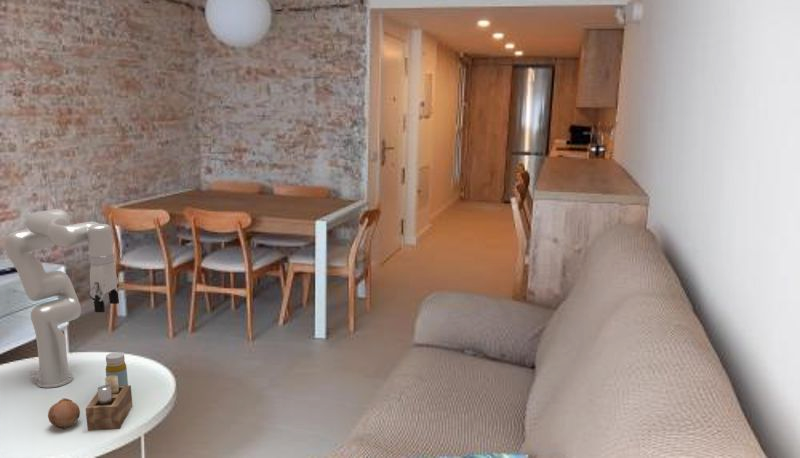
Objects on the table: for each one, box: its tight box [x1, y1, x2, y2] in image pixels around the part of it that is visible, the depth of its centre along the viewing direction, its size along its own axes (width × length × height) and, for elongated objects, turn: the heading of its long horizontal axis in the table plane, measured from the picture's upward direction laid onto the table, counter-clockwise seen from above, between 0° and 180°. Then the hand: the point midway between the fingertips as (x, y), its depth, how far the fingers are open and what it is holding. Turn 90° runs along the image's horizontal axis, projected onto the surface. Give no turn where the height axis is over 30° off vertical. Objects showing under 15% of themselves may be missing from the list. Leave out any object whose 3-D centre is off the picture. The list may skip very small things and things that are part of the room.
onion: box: [47, 397, 81, 430], centre depth 215 cm, size 10×9×10 cm
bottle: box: [105, 351, 129, 386], centre depth 238 cm, size 7×7×15 cm
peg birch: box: [104, 375, 119, 395], centre depth 223 cm, size 4×4×8 cm
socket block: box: [85, 384, 134, 432], centre depth 220 cm, size 10×16×8 cm, turn 8°
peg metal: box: [97, 384, 112, 406], centre depth 215 cm, size 4×4×8 cm
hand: (107, 307), depth 226 cm, fingers open, 9 cm apart
